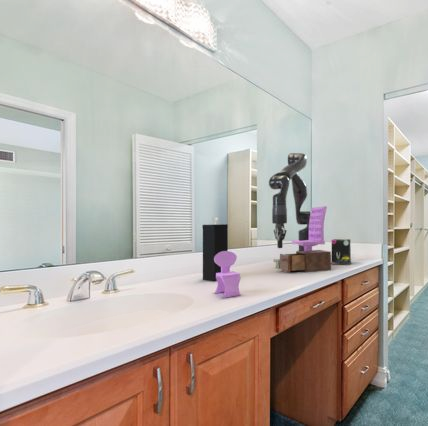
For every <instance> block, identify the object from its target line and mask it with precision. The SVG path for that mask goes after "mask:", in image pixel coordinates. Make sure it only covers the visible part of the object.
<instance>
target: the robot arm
mask: <svg viewBox="0 0 428 426" xmlns="http://www.w3.org/2000/svg"><path fill="white" fill-rule="evenodd" d="M307 164H308V157H307V155H306V154H305V153H301V152H290V153H289V154H287V165H285V166H284V167H283V168H282V169H281V170H280V171H278V172H276V173H274V174H273V175H271V176H270V178H269V179H268V186H269V188H270V189H272V190H274V191H276V190H279V192H277V193H275V194H273V195H272V209H271V222H272V224H275V226H274V229H273V234H274V237H275V240H276V241H277V244H276V245H277V249H283V247H284V246H283V241H284V240H285V238H286V234H287V230H286V227H285V224H287V223H288V208H287V196H288V191H289V187H290V181H291V189H292V197H293V200H294V202H293V203H294V209H295V220H296V224H297V225H300V226H301V225H303V226H304V225H306V226H305V227H304V228H302V229H299V230H298V231H297V232H298V241H305V240H309V220H310V215H311V210H301V208H302V206H303V204H304V203H305V201H306V199H307V197H308V188H307V184H306V182H305V181H304V180H303V178H301V176H300V175H299V173H300V171H302V170H304V169H305V168H306V166H307ZM297 251H304V246H301V245H298V250H297Z"/></svg>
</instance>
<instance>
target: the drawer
mask: <svg viewBox="0 0 428 426" xmlns="http://www.w3.org/2000/svg"><path fill="white" fill-rule="evenodd" d="M279 259H280V260H276V259H275V258H274V259H273V263H275V264H276V263H280V268H279V270H282V271H285V272H287V273H291V271H292V272H293V271H301V270H305V269H306V265H305V254H300V253H296V252H295V253H285V254H284V253H280V254H279Z"/></svg>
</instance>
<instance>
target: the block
mask: <svg viewBox="0 0 428 426" xmlns="http://www.w3.org/2000/svg"><path fill="white" fill-rule="evenodd" d="M276 260H280V258H279V259H278V258H277V259H276ZM275 268H277V269H280V263H276V262H275Z"/></svg>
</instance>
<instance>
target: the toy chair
mask: <svg viewBox="0 0 428 426" xmlns="http://www.w3.org/2000/svg"><path fill="white" fill-rule="evenodd" d="M237 259H238V257H237V255H236V253H235V252H233V251H230V250H228V251H222V252H219V253H218V254H216V255H215V257H214V262H215V263H216V264H217V265H218V266H220V267H221V273H216V279H217V281H216V283H217V284H216V285H217V286H216V289H215V291H214V294H220V293H221V294H222V293H223V295H222V297H221V298H222V299H225V298H231V297H237V296H241V292H240V286H239V285H240V281H241V273H239V272H236V271H234V270H231V267H232V266H234V265H235V263H236V261H237Z"/></svg>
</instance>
